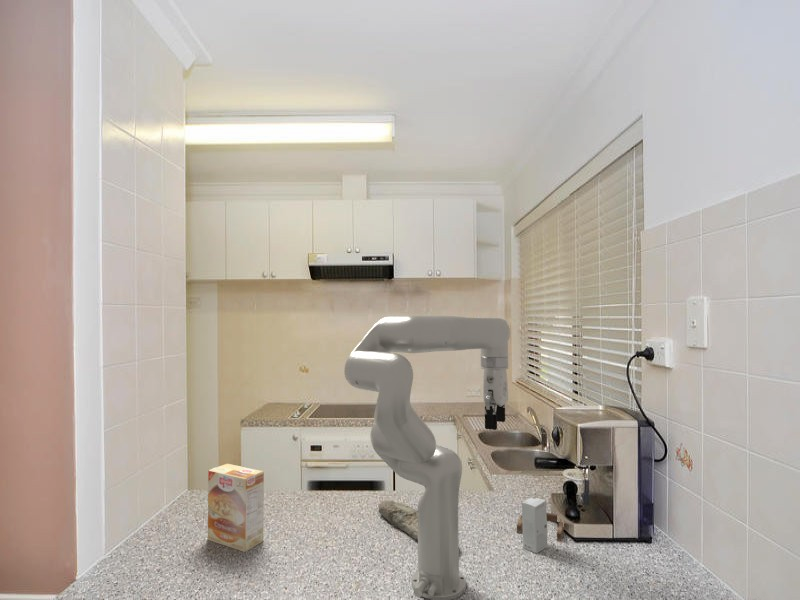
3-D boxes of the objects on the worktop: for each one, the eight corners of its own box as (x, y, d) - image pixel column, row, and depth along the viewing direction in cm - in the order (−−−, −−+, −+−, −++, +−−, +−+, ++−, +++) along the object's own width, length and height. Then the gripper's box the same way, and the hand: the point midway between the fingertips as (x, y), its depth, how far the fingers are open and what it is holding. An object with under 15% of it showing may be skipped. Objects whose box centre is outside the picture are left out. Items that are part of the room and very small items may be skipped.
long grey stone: (439, 568, 112) (468, 558, 118) (440, 547, 112) (469, 538, 118) (369, 511, 141) (394, 505, 147) (370, 495, 141) (396, 489, 147)
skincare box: (537, 554, 116) (536, 507, 116) (521, 548, 119) (520, 502, 119) (548, 545, 120) (547, 500, 120) (533, 539, 123) (532, 495, 124)
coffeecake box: (206, 540, 124) (207, 469, 125) (227, 529, 130) (227, 462, 131) (244, 553, 117) (245, 478, 118) (264, 541, 123) (264, 470, 124)
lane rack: (560, 541, 122) (560, 534, 122) (516, 532, 127) (516, 525, 127) (565, 522, 133) (565, 515, 133) (524, 515, 138) (524, 508, 139)
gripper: (500, 366, 113) (501, 434, 113) (514, 360, 129) (515, 420, 128) (472, 365, 117) (473, 431, 116) (489, 360, 132) (489, 417, 131)
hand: (495, 425), depth 122 cm, fingers open, 9 cm apart
